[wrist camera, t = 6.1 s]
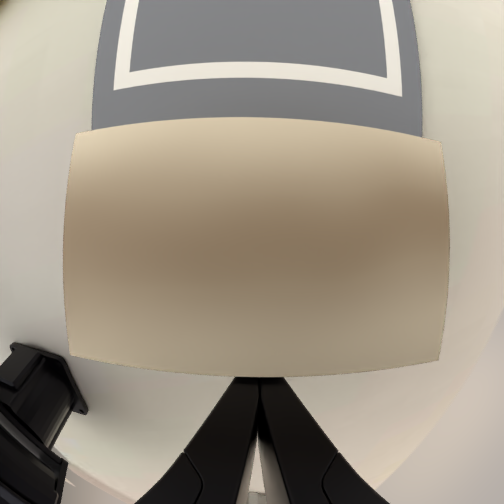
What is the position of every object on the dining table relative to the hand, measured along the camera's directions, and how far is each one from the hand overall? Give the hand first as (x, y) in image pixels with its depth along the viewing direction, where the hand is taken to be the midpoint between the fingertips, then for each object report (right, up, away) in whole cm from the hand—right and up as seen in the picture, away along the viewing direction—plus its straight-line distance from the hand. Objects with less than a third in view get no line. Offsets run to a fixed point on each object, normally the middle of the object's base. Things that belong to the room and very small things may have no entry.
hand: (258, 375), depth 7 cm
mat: (0, +9, +4) cm, 10 cm away
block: (0, +3, +5) cm, 6 cm away
